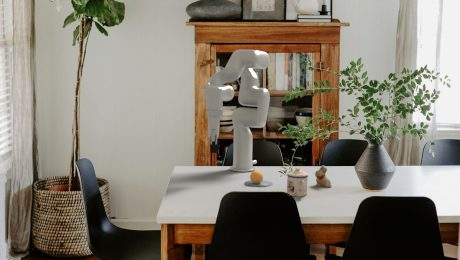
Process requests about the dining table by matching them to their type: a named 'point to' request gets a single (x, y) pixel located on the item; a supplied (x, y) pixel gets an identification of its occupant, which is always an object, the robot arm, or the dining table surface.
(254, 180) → the ball
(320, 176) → the chocolate bunny
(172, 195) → the dining table surface
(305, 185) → the teacup with lid
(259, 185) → the disc
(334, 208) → the dining table surface
